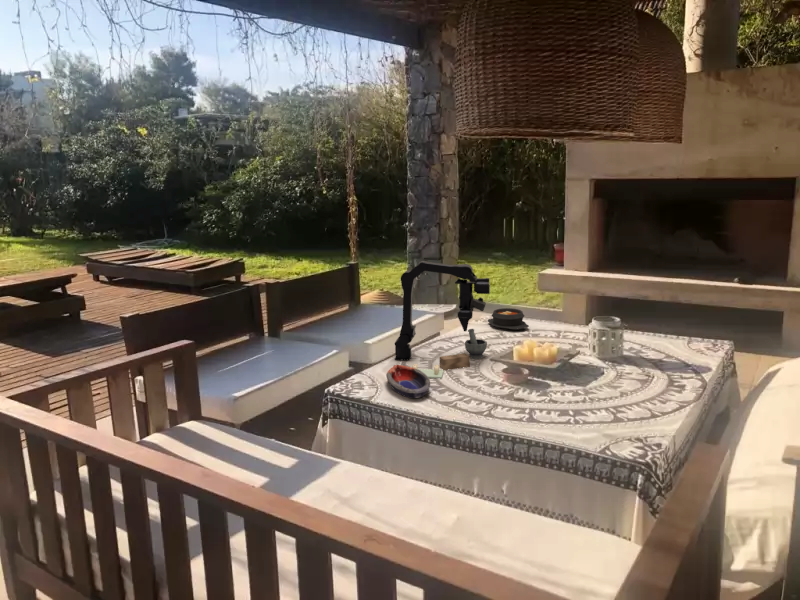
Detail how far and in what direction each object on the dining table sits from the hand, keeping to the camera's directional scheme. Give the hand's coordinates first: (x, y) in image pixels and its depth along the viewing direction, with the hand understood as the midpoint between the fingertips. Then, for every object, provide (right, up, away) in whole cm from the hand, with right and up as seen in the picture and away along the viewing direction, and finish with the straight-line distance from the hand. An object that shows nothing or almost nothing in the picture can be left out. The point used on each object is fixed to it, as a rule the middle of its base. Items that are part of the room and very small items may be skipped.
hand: (465, 328), depth 282 cm
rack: (-18, -18, -14) cm, 30 cm away
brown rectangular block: (-5, -16, -5) cm, 18 cm away
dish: (-26, -22, -29) cm, 44 cm away
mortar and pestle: (+5, -13, +9) cm, 17 cm away
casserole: (+28, -2, +57) cm, 64 cm away
